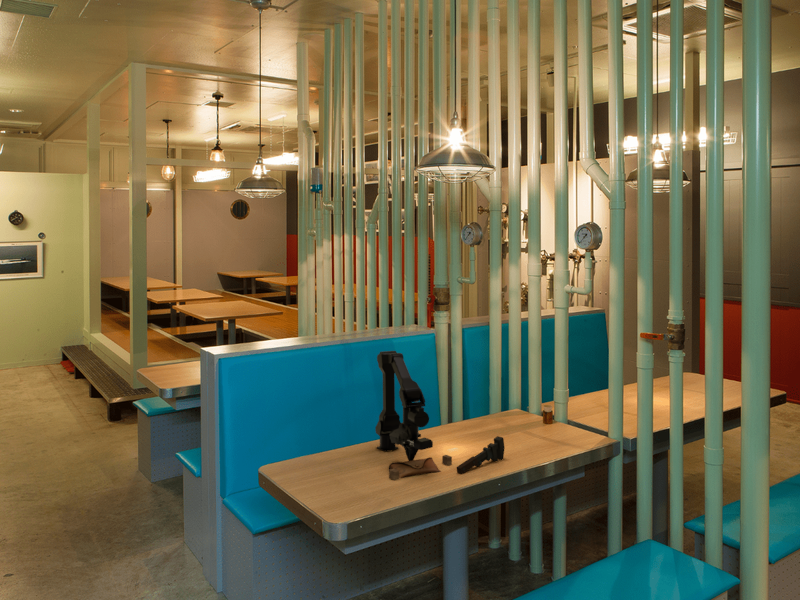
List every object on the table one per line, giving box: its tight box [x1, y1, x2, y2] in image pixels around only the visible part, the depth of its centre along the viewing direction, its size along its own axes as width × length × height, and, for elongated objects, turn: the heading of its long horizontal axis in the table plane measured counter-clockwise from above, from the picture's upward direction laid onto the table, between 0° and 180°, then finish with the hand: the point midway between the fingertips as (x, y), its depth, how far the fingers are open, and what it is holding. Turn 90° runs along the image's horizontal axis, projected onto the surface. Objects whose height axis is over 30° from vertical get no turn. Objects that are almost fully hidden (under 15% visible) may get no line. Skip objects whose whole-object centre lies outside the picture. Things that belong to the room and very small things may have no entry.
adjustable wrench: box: [456, 436, 505, 475], centre depth 241 cm, size 8×3×25 cm
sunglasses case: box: [388, 456, 442, 480], centre depth 235 cm, size 18×7×7 cm, turn 116°
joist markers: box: [388, 454, 453, 481], centre depth 235 cm, size 3×27×3 cm, turn 128°
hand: (410, 462), depth 239 cm, fingers closed
